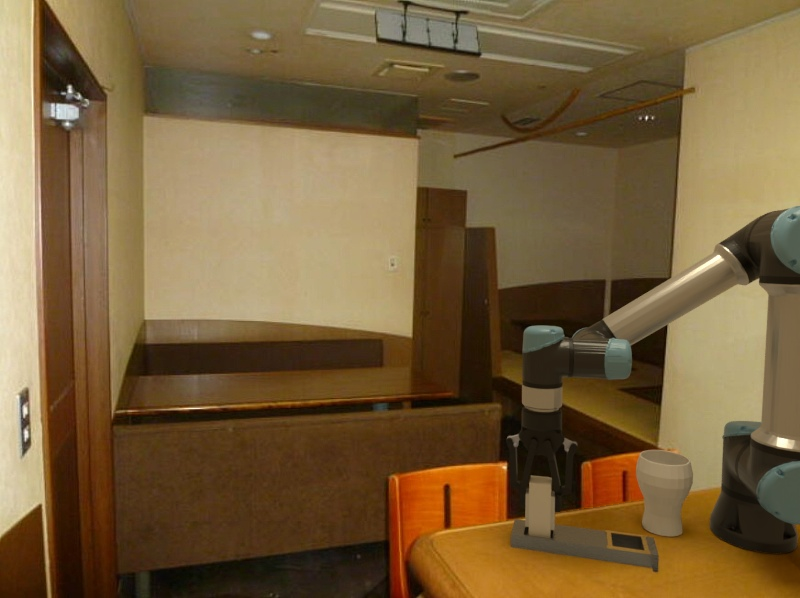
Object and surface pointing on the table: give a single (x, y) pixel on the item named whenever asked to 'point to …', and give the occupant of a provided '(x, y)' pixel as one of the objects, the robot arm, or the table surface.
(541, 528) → the peg
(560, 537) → the grey peg hole board
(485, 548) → the table surface
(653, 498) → the cup
